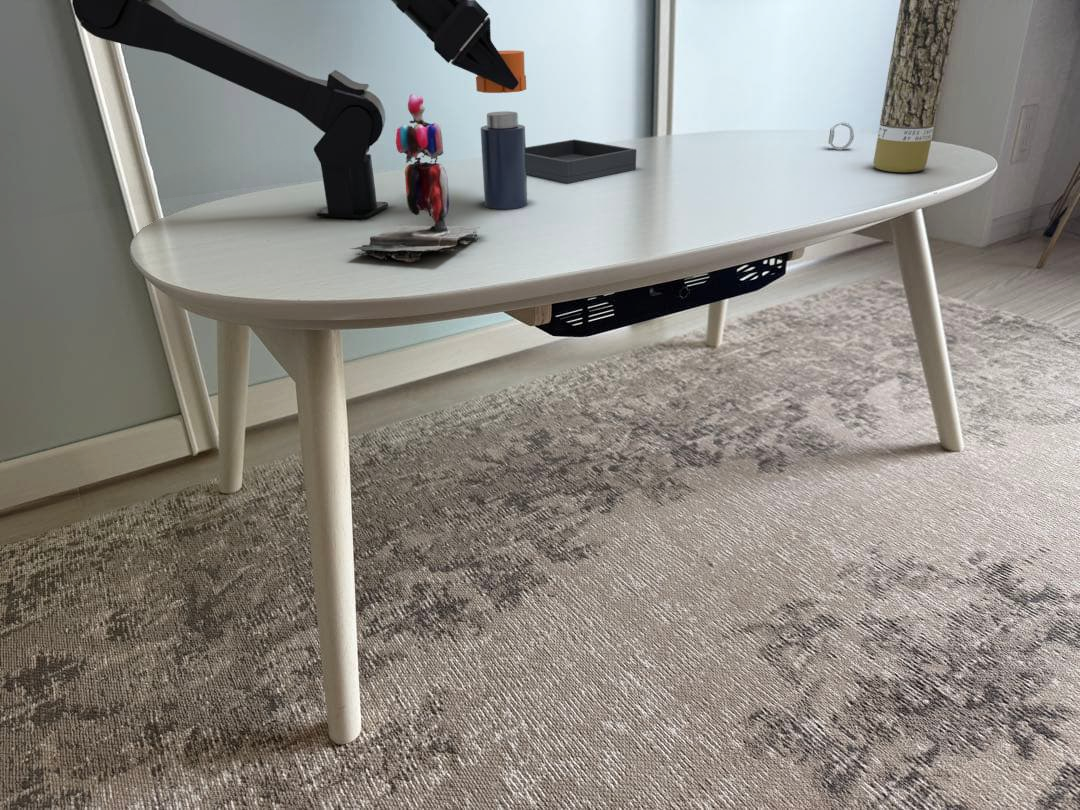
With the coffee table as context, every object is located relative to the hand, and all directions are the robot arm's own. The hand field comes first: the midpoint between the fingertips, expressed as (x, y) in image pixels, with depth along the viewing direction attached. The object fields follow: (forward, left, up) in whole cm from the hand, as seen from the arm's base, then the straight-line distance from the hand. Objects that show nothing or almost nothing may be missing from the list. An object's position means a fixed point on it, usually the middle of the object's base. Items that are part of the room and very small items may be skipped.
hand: (513, 84), depth 89 cm
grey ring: (+43, -40, -14) cm, 60 cm away
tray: (+21, -2, -14) cm, 25 cm away
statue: (-21, +4, -14) cm, 25 cm away
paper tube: (+28, -47, -14) cm, 56 cm away
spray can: (-1, +1, -14) cm, 14 cm away
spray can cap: (-1, +1, -1) cm, 2 cm away
